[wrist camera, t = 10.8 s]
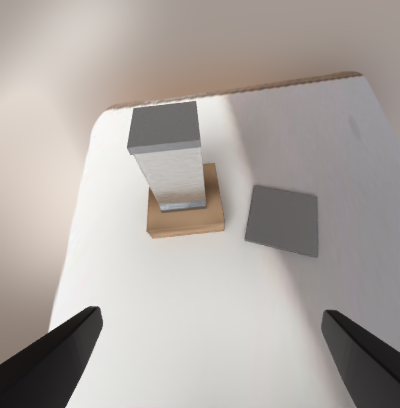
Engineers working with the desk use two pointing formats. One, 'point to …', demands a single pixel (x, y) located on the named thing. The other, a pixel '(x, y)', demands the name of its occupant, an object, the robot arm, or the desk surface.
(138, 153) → the block
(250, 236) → the pad
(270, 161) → the desk surface
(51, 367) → the robot arm
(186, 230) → the stand
